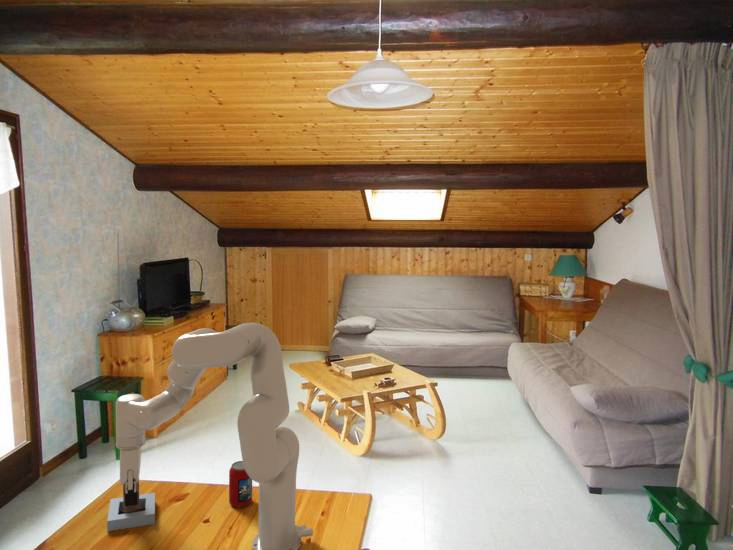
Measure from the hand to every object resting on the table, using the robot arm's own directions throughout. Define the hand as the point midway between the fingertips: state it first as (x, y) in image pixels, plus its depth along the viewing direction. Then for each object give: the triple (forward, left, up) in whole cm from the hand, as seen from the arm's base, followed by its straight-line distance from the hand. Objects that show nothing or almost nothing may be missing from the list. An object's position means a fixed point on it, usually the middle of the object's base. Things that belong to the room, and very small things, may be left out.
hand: (131, 500), depth 155 cm
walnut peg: (0, 0, -2) cm, 2 cm away
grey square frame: (0, 0, -5) cm, 5 cm away
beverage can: (-30, +2, -5) cm, 31 cm away
